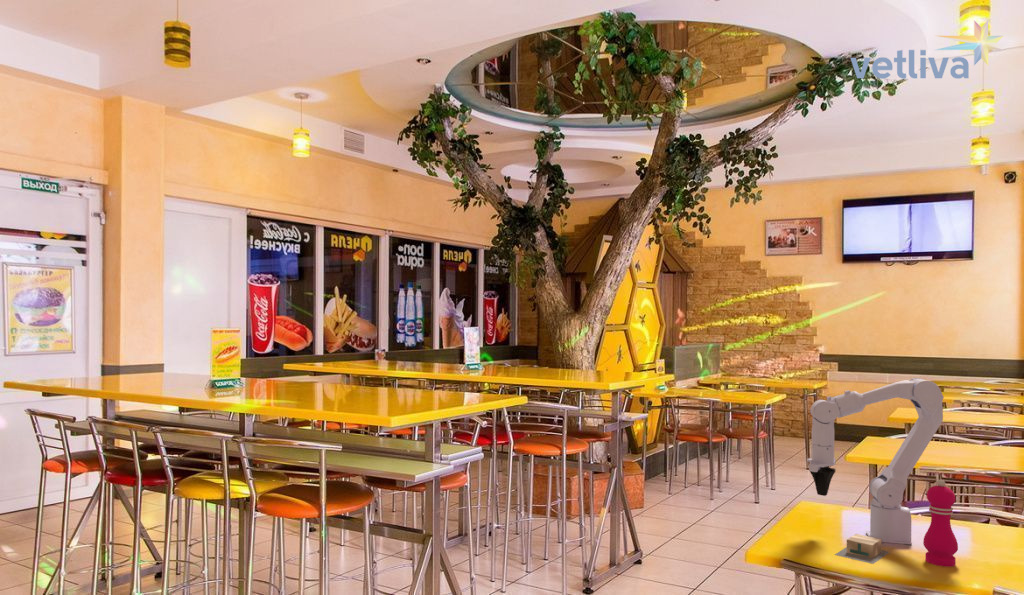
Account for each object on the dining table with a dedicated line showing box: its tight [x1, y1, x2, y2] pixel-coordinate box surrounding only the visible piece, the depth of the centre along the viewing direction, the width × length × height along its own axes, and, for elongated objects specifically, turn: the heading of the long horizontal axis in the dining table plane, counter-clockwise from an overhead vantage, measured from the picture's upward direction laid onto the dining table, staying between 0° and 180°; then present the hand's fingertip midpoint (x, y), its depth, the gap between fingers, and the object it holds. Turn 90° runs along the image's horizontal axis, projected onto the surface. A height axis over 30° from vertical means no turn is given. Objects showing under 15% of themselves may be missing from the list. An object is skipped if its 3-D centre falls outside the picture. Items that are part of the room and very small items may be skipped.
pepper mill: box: [922, 479, 959, 568], centre depth 176 cm, size 7×7×20 cm
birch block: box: [846, 533, 882, 558], centre depth 182 cm, size 3×6×7 cm
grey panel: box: [834, 546, 890, 565], centre depth 181 cm, size 13×9×1 cm
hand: (822, 494), depth 198 cm, fingers closed
